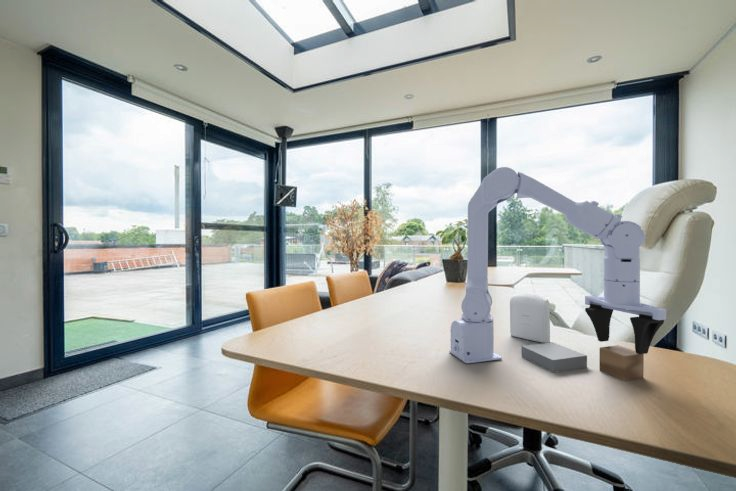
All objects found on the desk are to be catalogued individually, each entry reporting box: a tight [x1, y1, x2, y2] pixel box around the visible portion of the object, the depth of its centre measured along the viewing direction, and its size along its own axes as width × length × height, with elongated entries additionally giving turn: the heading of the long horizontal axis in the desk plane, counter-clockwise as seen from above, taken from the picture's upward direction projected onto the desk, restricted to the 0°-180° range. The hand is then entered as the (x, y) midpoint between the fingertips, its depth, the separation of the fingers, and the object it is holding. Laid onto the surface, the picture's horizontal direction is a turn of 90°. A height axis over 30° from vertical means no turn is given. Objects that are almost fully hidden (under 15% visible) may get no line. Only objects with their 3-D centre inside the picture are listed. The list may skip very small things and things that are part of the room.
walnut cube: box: [599, 344, 645, 382], centre depth 64 cm, size 5×5×5 cm
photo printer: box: [509, 293, 551, 344], centre depth 87 cm, size 10×4×12 cm, turn 39°
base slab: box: [521, 341, 588, 373], centre depth 71 cm, size 9×9×3 cm
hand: (621, 346), depth 64 cm, fingers open, 7 cm apart
